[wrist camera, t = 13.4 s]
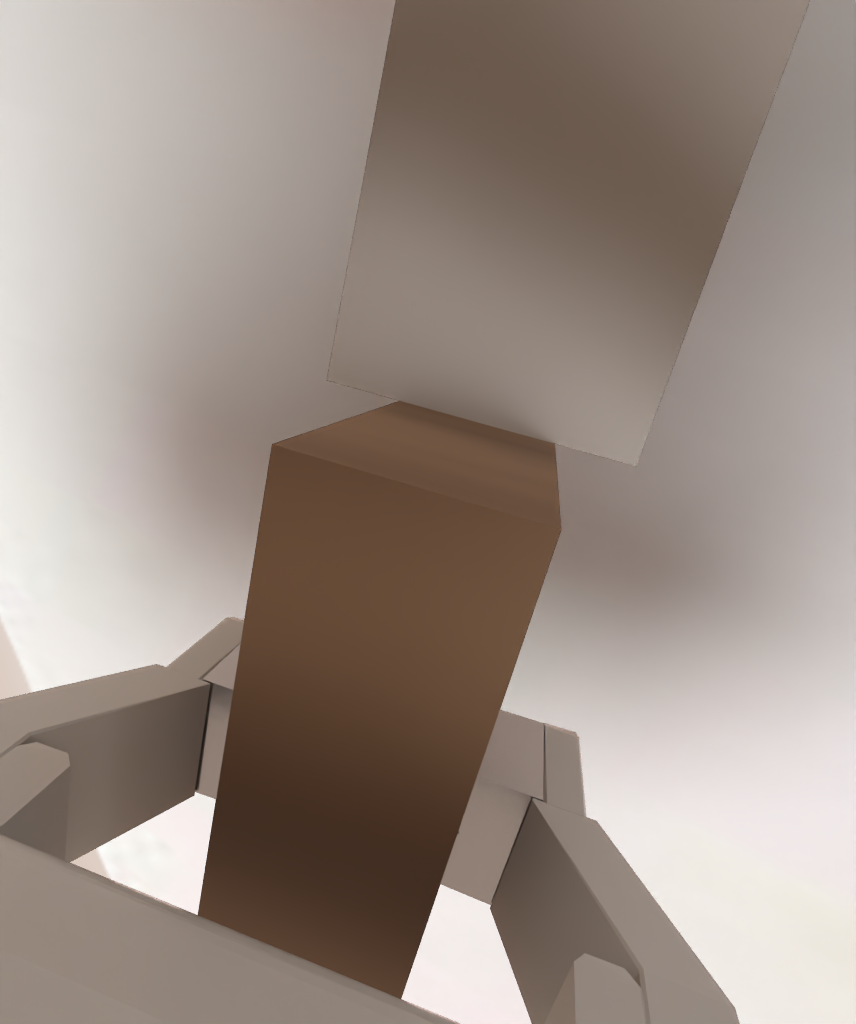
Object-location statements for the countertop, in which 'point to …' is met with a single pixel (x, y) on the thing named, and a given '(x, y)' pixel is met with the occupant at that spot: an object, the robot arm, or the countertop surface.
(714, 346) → the countertop surface
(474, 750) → the turner
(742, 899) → the countertop surface
